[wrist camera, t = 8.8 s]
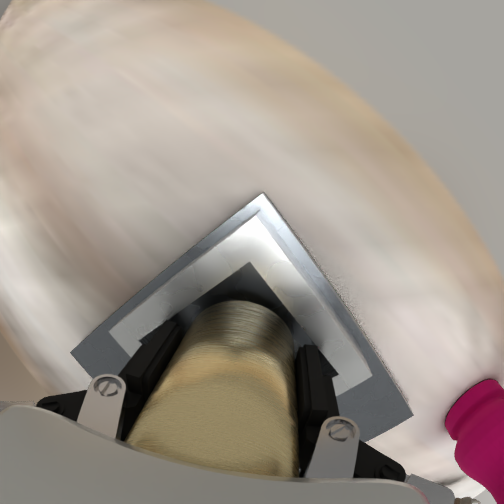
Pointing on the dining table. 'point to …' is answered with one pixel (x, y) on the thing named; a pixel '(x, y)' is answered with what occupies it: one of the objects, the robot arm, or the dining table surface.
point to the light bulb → (227, 395)
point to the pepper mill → (480, 435)
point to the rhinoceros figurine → (465, 500)
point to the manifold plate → (267, 295)
